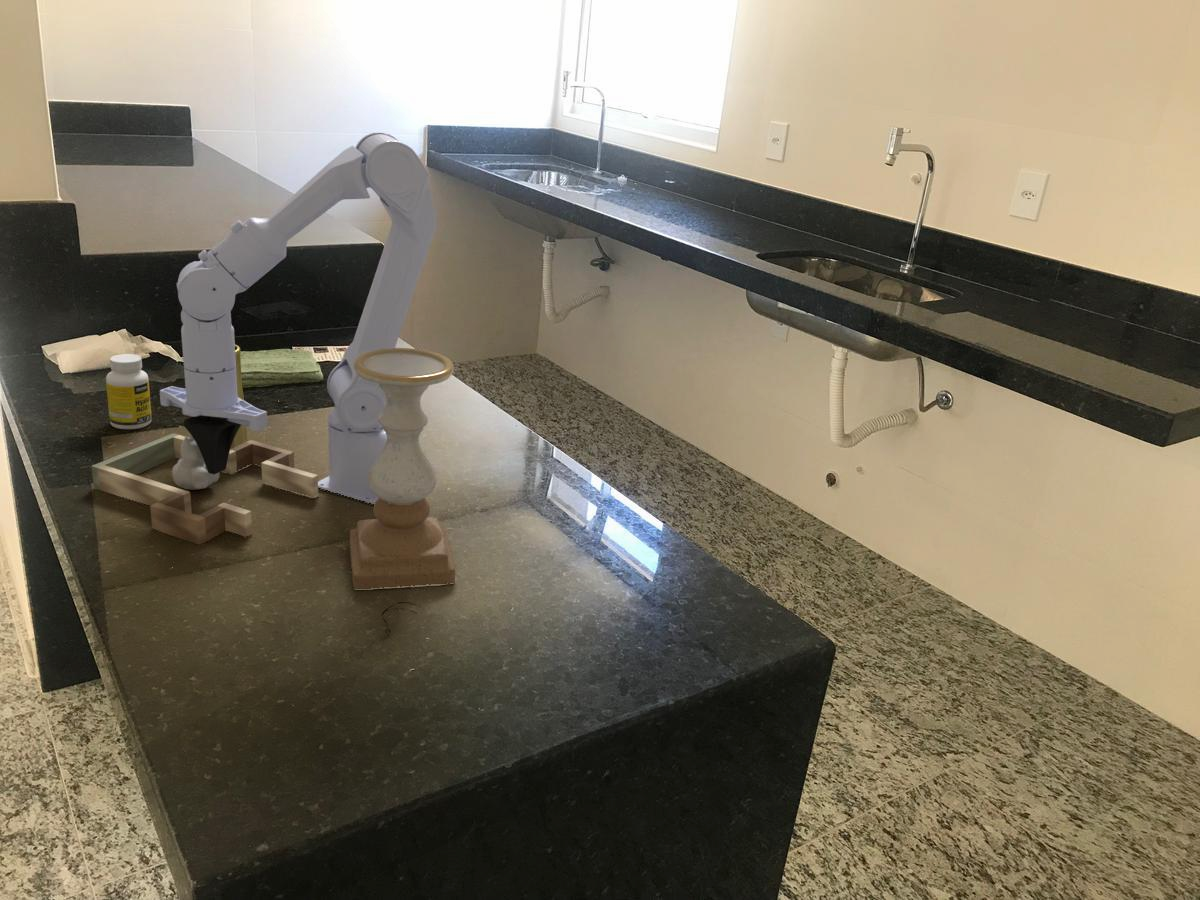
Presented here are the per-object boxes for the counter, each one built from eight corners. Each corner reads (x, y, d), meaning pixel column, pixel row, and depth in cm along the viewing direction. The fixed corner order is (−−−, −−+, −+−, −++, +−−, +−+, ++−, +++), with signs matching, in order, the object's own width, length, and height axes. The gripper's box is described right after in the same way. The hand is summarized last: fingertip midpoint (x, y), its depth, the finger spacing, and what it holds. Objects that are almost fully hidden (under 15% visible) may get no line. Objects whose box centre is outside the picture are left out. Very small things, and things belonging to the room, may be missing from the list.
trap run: (338, 485, 127) (337, 464, 125) (220, 552, 108) (219, 528, 107) (197, 444, 134) (195, 424, 133) (65, 500, 116) (62, 477, 115)
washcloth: (327, 385, 162) (326, 366, 160) (213, 393, 154) (212, 373, 153) (311, 361, 172) (310, 343, 171) (204, 367, 164) (203, 348, 163)
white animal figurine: (213, 475, 126) (210, 418, 123) (226, 496, 121) (222, 437, 118) (169, 482, 123) (163, 423, 120) (180, 503, 118) (174, 443, 115)
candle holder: (353, 591, 104) (351, 379, 94) (349, 542, 113) (347, 345, 104) (456, 585, 107) (464, 379, 97) (443, 538, 116) (450, 346, 107)
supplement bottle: (142, 432, 136) (135, 365, 133) (103, 428, 136) (95, 362, 132) (158, 418, 141) (153, 354, 138) (121, 415, 141) (114, 350, 137)
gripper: (135, 361, 113) (146, 467, 118) (235, 387, 108) (241, 497, 114) (181, 347, 119) (189, 449, 124) (277, 371, 114) (281, 476, 120)
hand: (217, 470), depth 119 cm, fingers closed
